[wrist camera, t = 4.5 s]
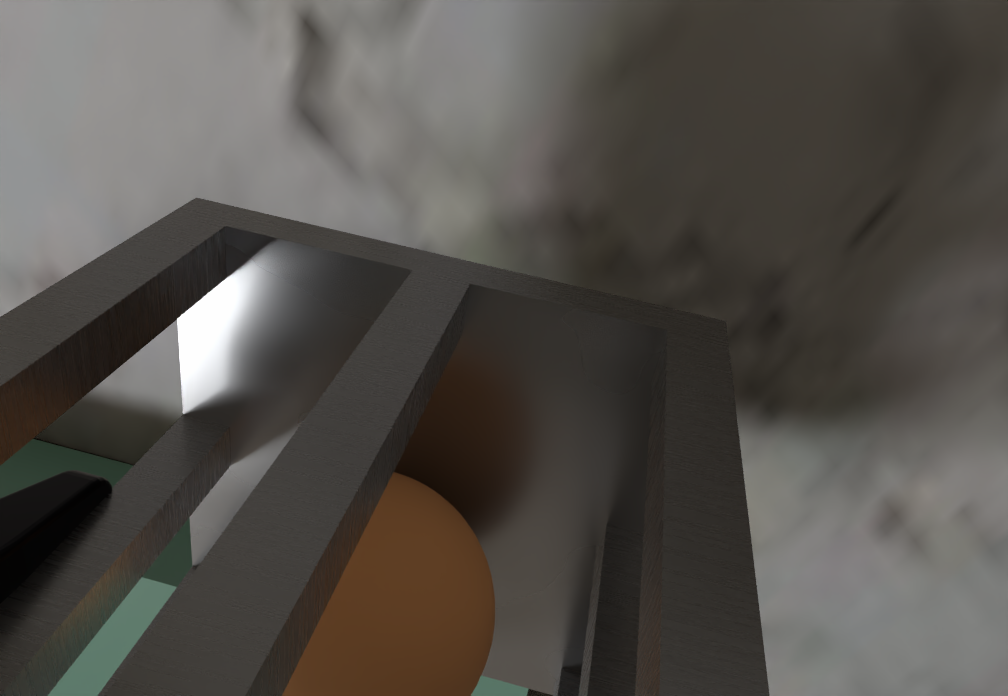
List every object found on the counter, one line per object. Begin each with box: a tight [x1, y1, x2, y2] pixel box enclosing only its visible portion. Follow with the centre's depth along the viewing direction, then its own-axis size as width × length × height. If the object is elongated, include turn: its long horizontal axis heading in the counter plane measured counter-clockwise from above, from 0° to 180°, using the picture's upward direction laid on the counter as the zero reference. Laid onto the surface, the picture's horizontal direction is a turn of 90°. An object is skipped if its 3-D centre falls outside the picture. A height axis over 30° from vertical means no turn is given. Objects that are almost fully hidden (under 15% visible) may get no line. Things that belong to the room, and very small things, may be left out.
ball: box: [282, 472, 495, 696], centre depth 8 cm, size 3×3×3 cm
